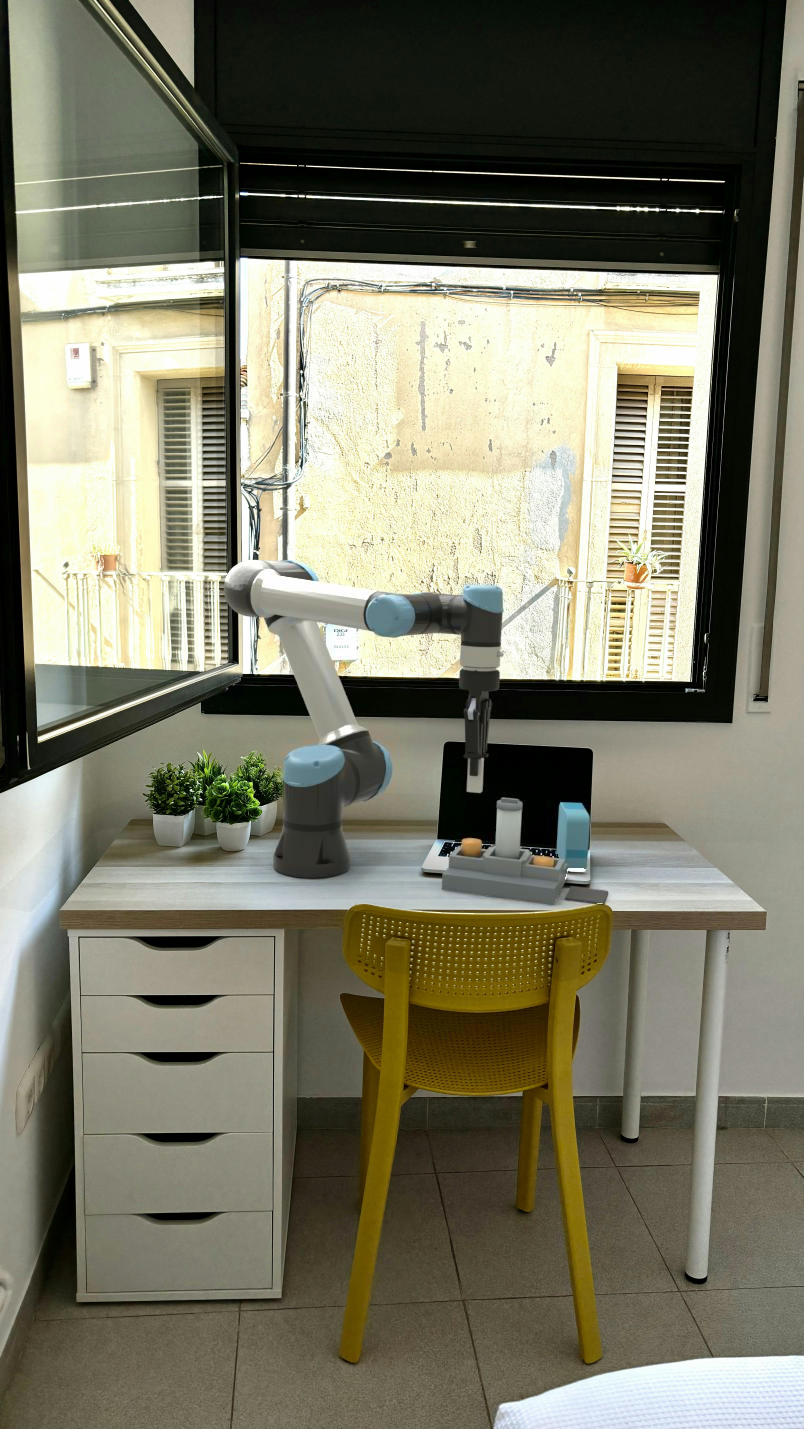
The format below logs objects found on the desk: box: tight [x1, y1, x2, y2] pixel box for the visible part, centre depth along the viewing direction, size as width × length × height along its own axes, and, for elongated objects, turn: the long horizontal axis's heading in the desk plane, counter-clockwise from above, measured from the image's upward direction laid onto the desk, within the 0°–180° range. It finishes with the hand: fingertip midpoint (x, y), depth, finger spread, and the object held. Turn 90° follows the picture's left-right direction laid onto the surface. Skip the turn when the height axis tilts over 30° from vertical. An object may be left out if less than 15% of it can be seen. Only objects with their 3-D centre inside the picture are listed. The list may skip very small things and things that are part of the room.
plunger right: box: [533, 855, 554, 868], centre depth 185 cm, size 4×4×2 cm
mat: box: [564, 885, 609, 905], centre depth 182 cm, size 7×7×1 cm
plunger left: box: [461, 837, 483, 857], centre depth 189 cm, size 4×4×2 cm
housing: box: [441, 845, 568, 906], centre depth 187 cm, size 21×16×6 cm
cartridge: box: [494, 797, 523, 860], centre depth 186 cm, size 5×5×14 cm
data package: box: [556, 801, 591, 869], centre depth 200 cm, size 12×4×12 cm, turn 178°
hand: (474, 791), depth 187 cm, fingers closed
